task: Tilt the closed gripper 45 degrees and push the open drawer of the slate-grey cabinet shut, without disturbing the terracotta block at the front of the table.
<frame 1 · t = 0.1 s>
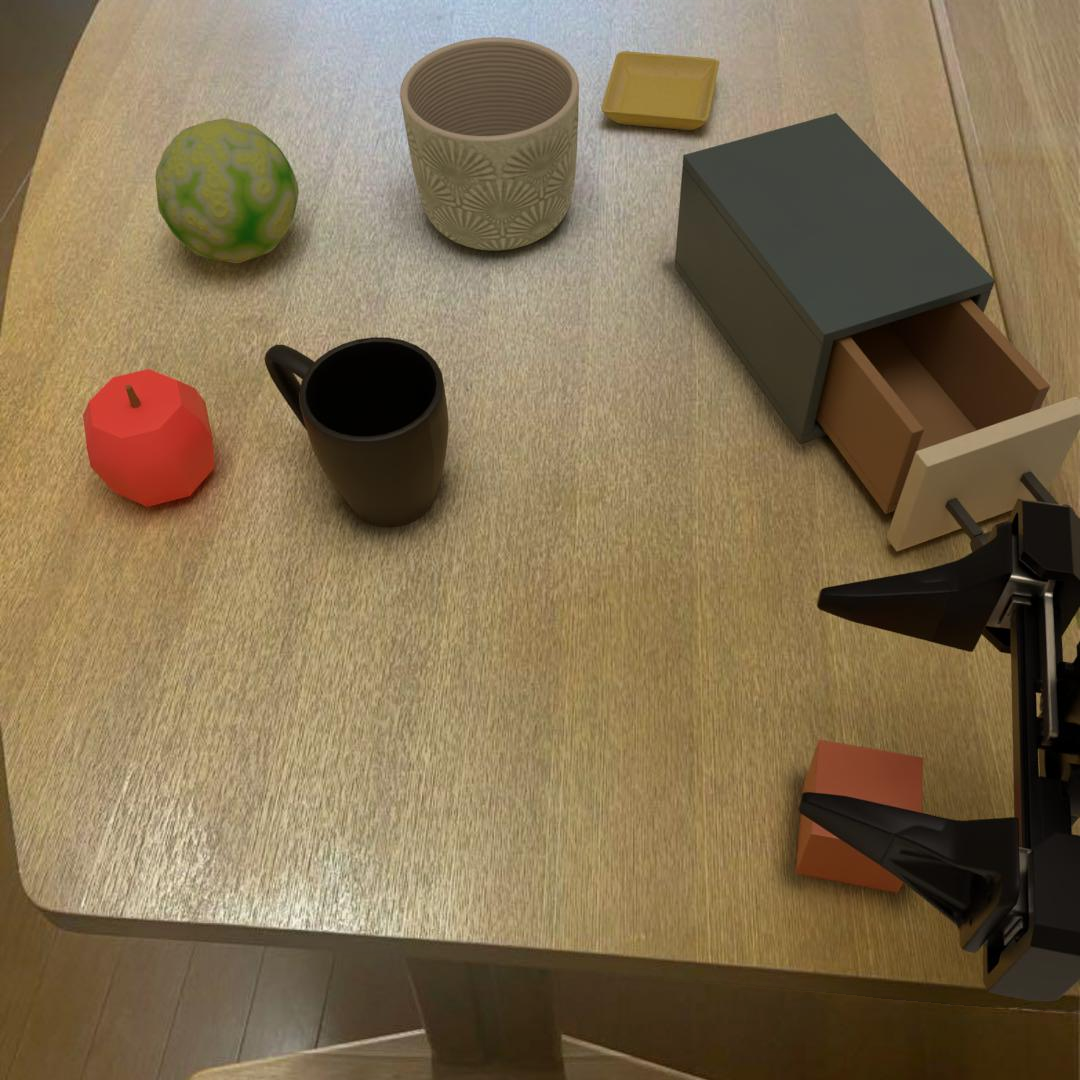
hand: (809, 694, 47), 17 cm above the table, tool horizontal, fingers open, 9 cm apart
apple: (167, 476, 76), on the table
saucer: (660, 108, 99), on the table
decorative ball: (244, 249, 89), on the table
mug: (370, 481, 76), on the table
block: (849, 836, 60), on the table
cabinet: (807, 326, 82), on the table
drawer: (925, 403, 71), point 5 cm above the table, slide at 9.0 cm
planter: (498, 216, 91), on the table
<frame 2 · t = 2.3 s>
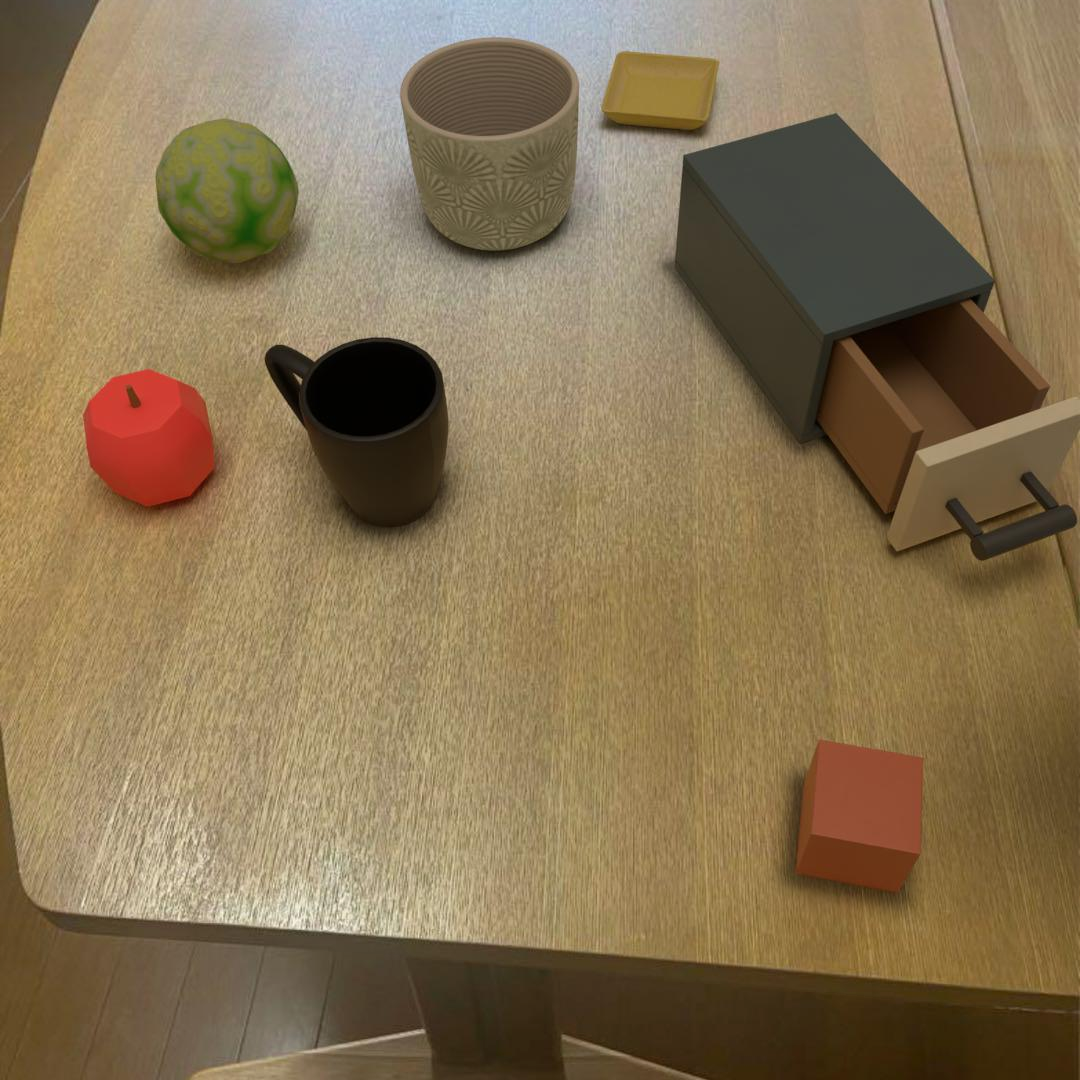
nothing on the table moved.
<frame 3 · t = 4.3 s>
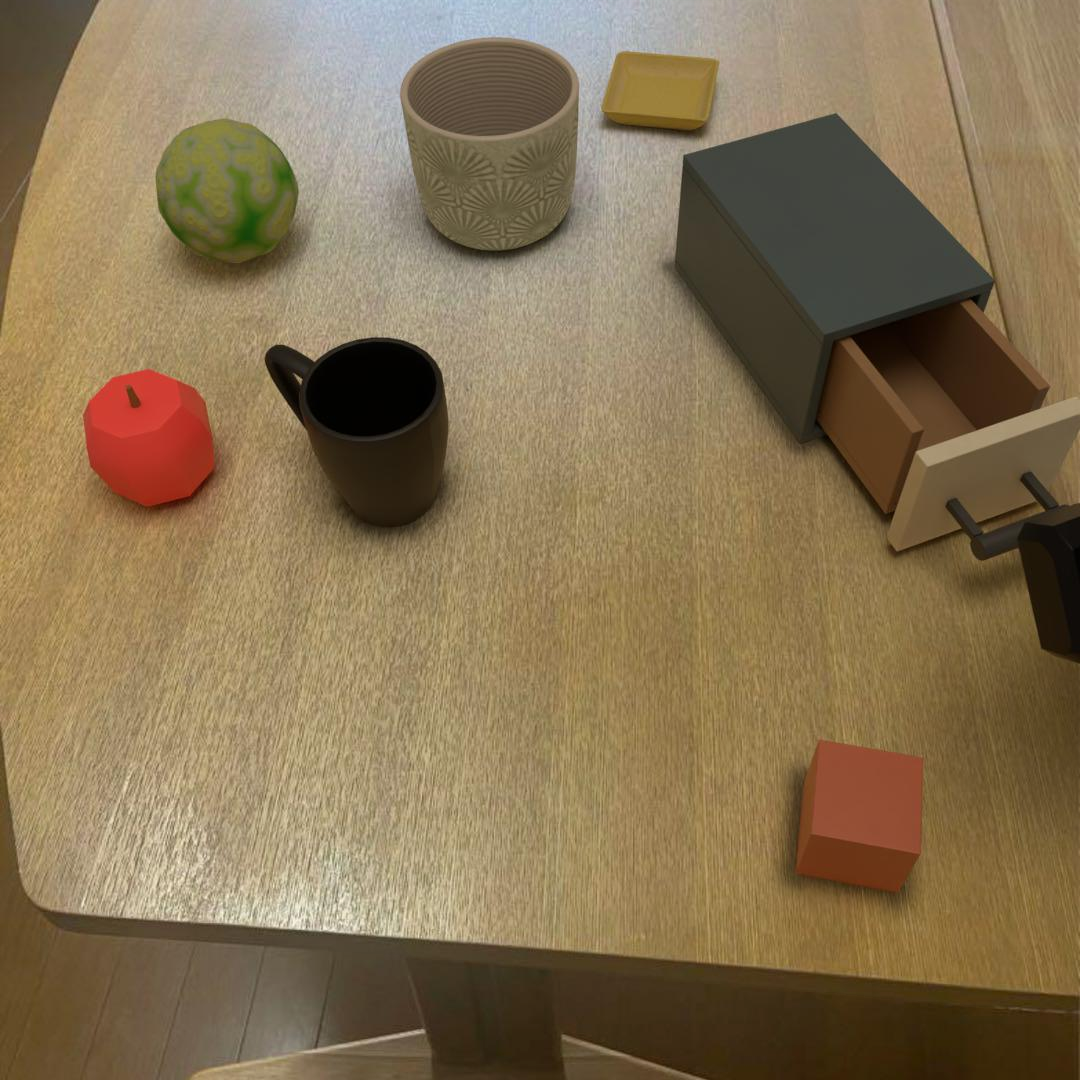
nothing on the table moved.
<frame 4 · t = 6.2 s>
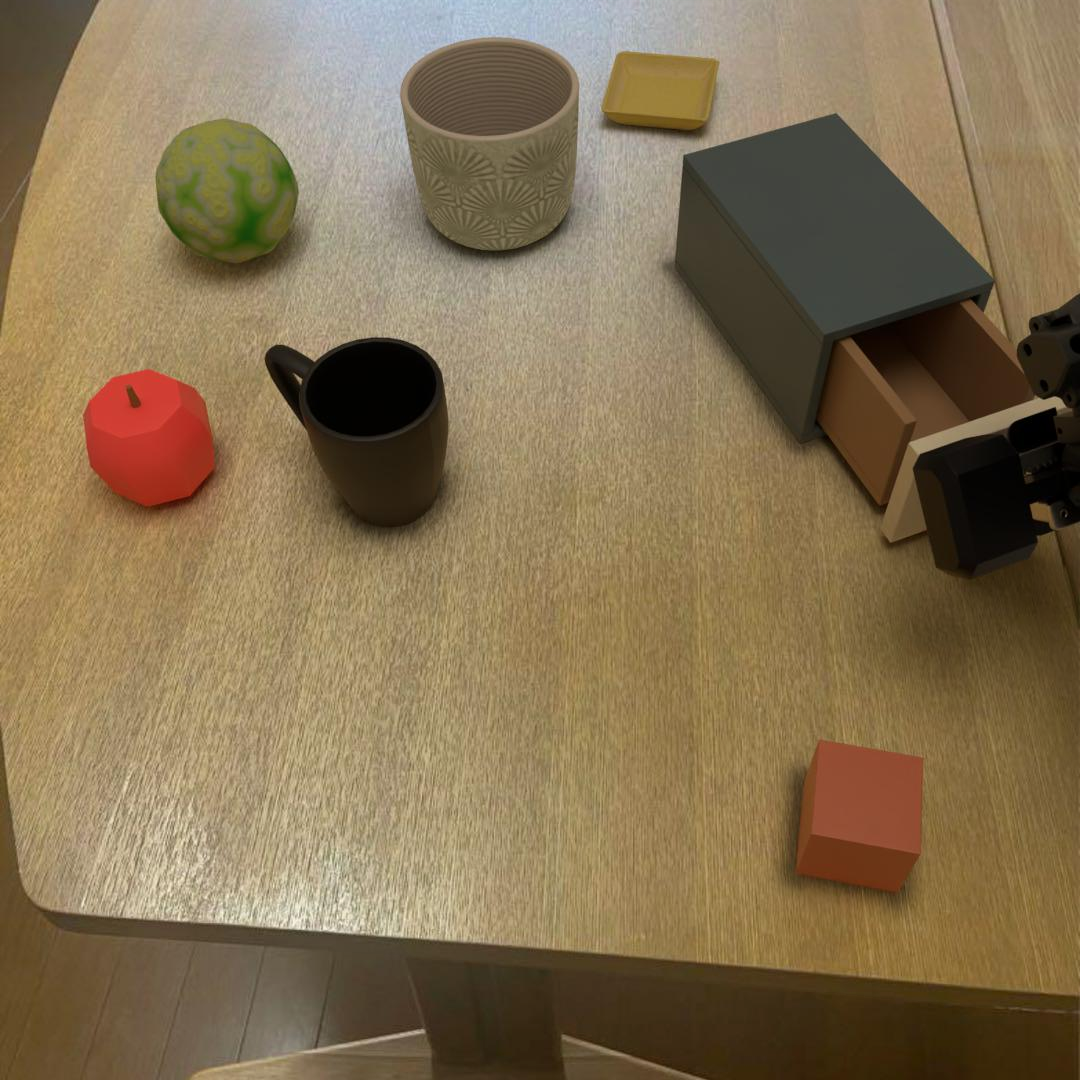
hand: (995, 454, 66), 7 cm above the table, tool tilted 45°, fingers closed, pressing on drawer
drawer: (919, 396, 72), point 5 cm above the table, slide at 8.3 cm, touching gripper
everything else where it was.
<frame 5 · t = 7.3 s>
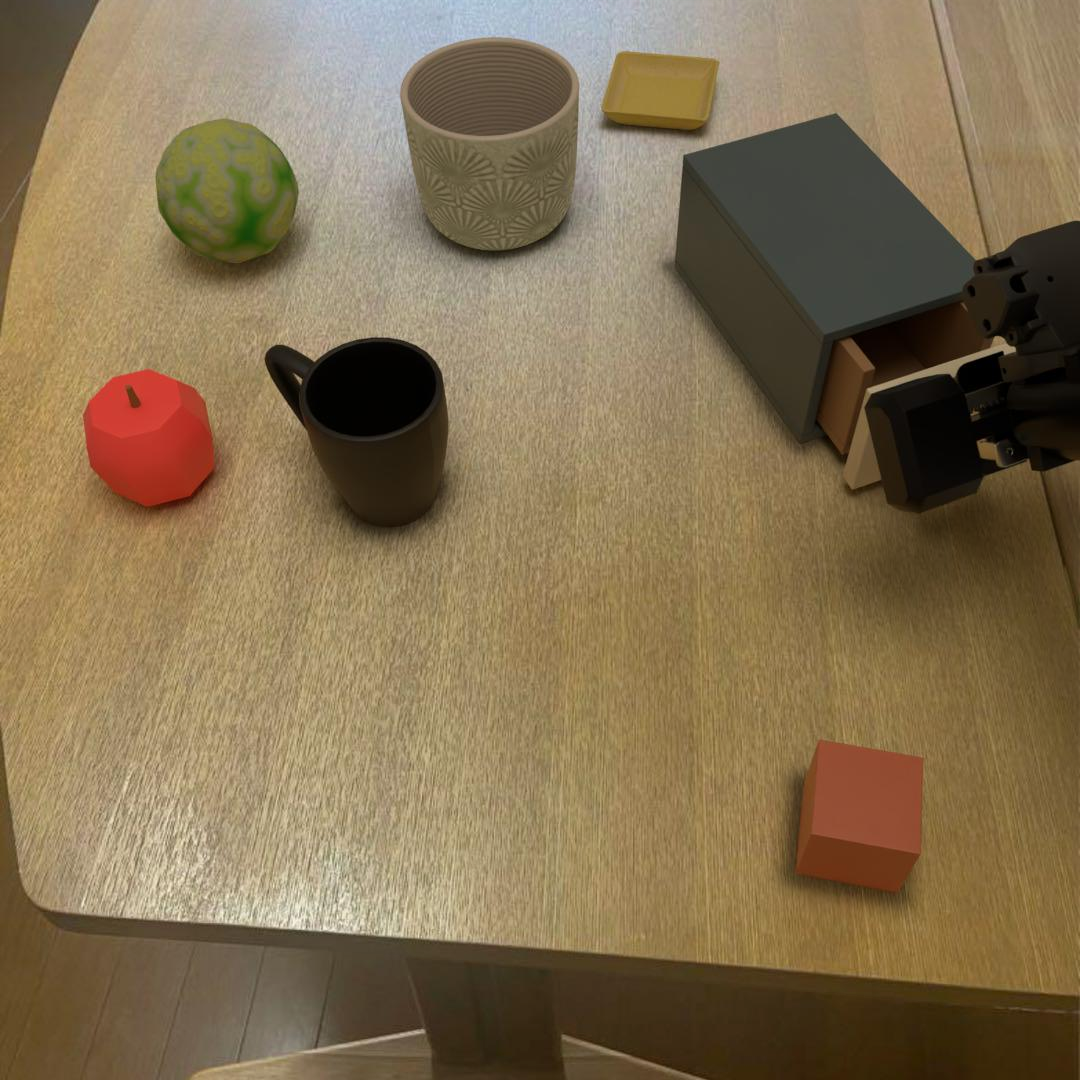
hand: (950, 402, 69), 7 cm above the table, tool tilted 45°, fingers closed, pressing on drawer
drawer: (880, 349, 74), point 5 cm above the table, slide at 3.9 cm, touching gripper
everything else where it was.
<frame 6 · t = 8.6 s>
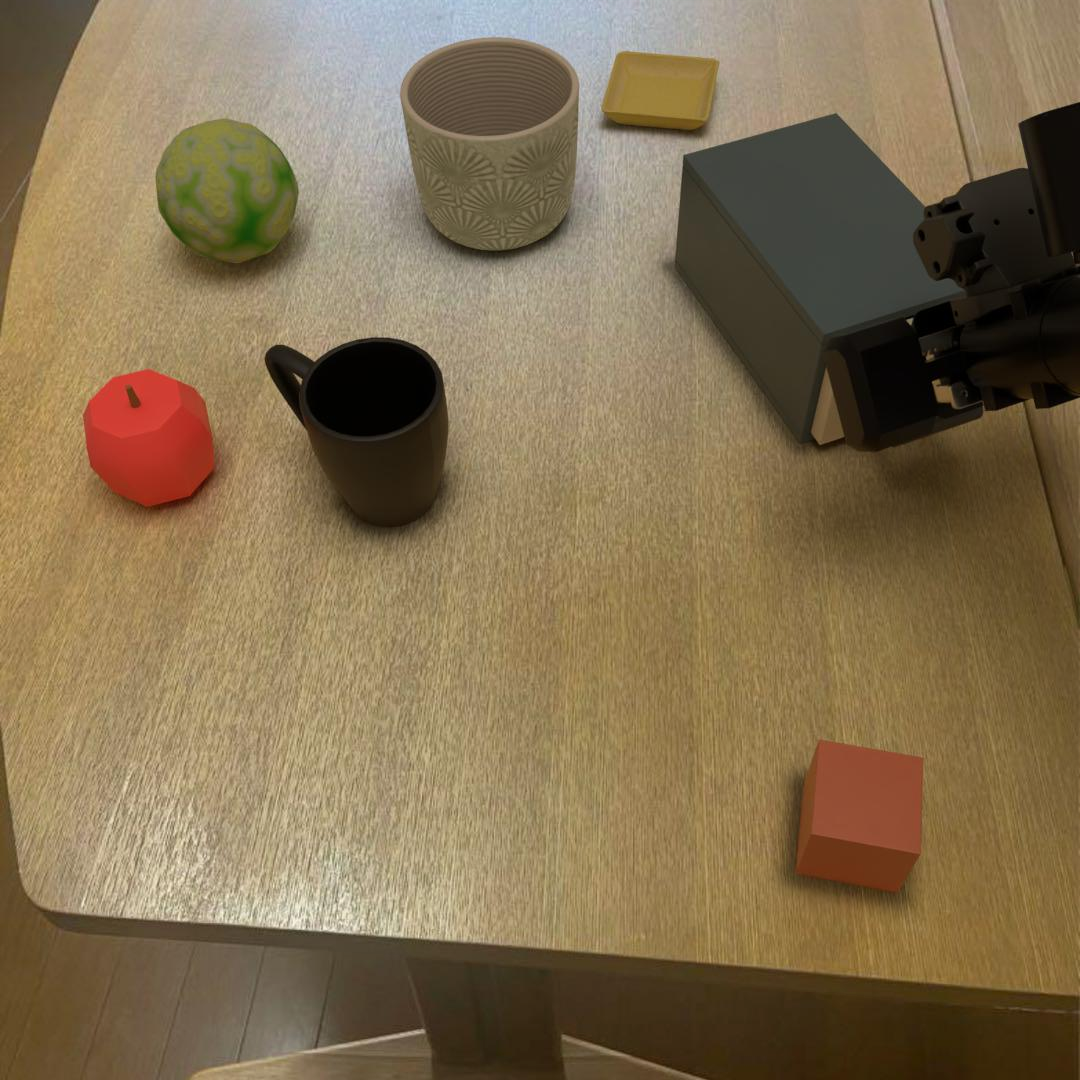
hand: (913, 357, 71), 7 cm above the table, tool tilted 45°, fingers closed, pressing on drawer
drawer: (848, 309, 77), point 5 cm above the table, slide at 0.0 cm, touching cabinet, gripper
everything else where it was.
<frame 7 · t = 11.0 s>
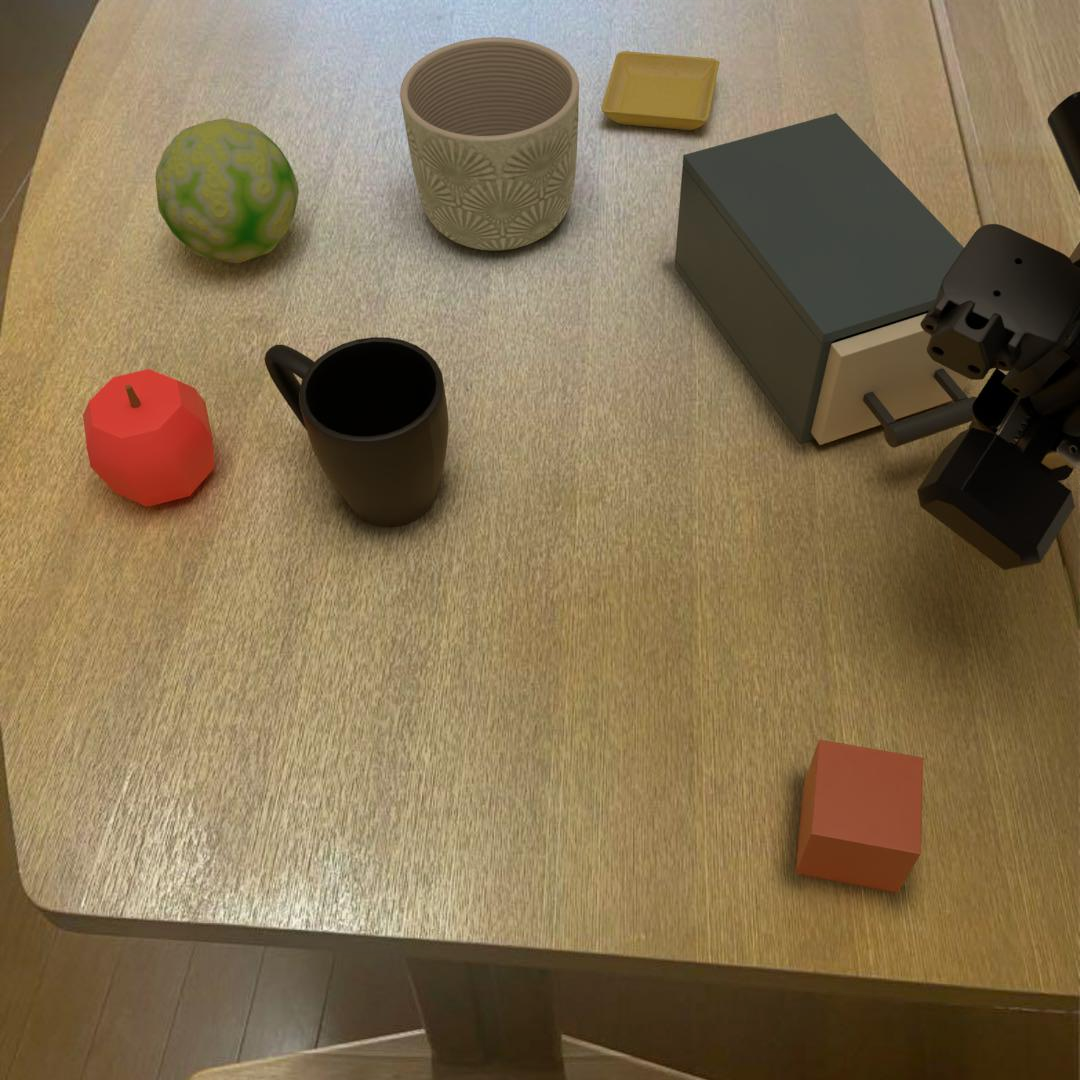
hand: (978, 428, 66), 8 cm above the table, tool tilted 30°, fingers closed
drawer: (848, 309, 77), point 5 cm above the table, slide at 0.0 cm, touching cabinet
everything else where it was.
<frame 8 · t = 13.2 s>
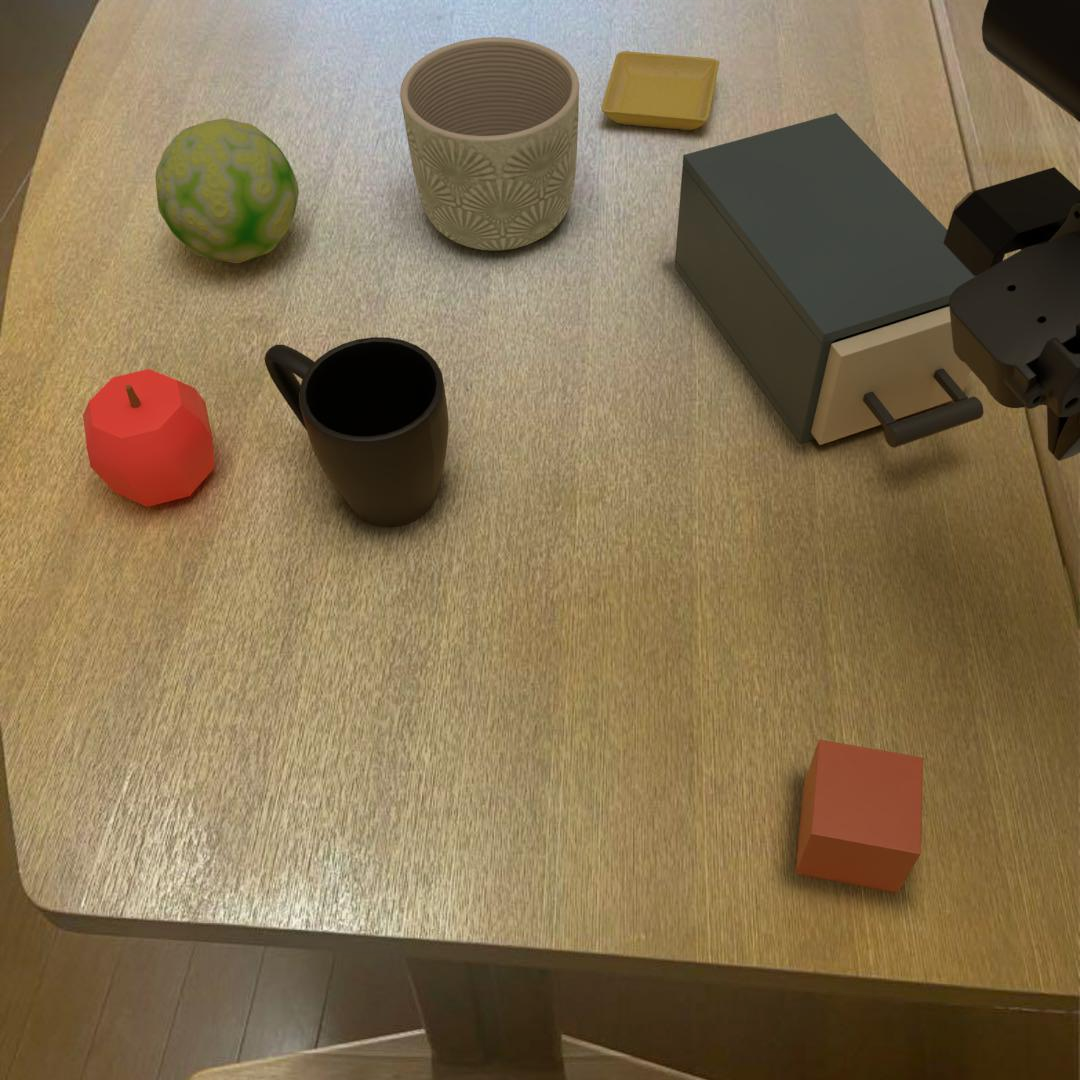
hand: (1061, 453, 58), 13 cm above the table, tool pointing down, fingers closed
nothing on the table moved.
at the end: drawer slide at 0.0 cm; block moved 0.0 cm from its start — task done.
